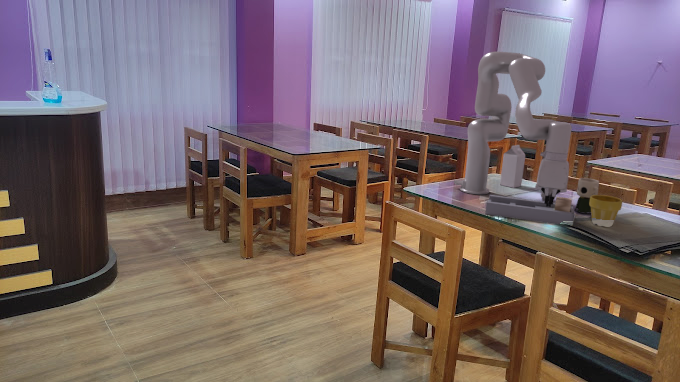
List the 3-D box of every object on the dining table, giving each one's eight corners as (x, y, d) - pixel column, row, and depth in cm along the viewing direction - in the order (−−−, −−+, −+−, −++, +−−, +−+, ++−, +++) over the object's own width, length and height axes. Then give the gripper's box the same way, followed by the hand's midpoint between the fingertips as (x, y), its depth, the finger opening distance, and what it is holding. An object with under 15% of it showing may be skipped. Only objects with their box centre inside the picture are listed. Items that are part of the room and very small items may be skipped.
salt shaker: (556, 203, 208) (560, 172, 205) (541, 201, 209) (546, 171, 206) (553, 199, 214) (557, 169, 210) (539, 198, 215) (543, 168, 212)
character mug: (566, 208, 200) (571, 176, 197) (582, 208, 202) (587, 176, 199) (584, 216, 190) (590, 183, 187) (601, 216, 192) (607, 183, 188)
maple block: (554, 212, 182) (556, 199, 181) (554, 209, 187) (556, 196, 186) (569, 215, 180) (571, 201, 179) (569, 211, 185) (571, 198, 184)
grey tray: (485, 214, 188) (486, 202, 187) (488, 205, 199) (489, 194, 198) (572, 226, 177) (574, 214, 176) (570, 216, 189) (572, 205, 188)
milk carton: (499, 185, 236) (504, 145, 231) (507, 183, 241) (512, 143, 236) (513, 188, 231) (519, 147, 226) (521, 186, 236) (526, 146, 231)
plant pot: (579, 220, 185) (583, 194, 182) (601, 219, 188) (606, 193, 186) (601, 229, 175) (606, 202, 173) (624, 228, 179) (629, 201, 176)
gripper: (533, 156, 180) (526, 205, 184) (579, 160, 174) (570, 211, 179) (533, 153, 186) (527, 200, 191) (577, 157, 181) (569, 206, 186)
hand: (548, 205), depth 185 cm, fingers closed
